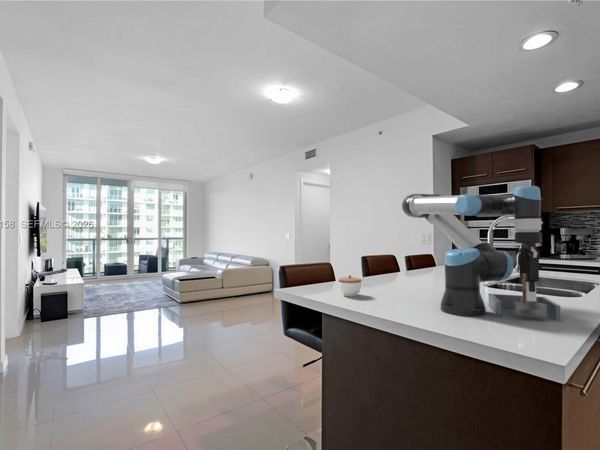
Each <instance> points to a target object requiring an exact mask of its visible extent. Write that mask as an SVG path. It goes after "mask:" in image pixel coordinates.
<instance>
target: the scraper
mask: <svg viewBox="0 0 600 450" xmlns="http://www.w3.org/2000/svg"><path fill="white" fill-rule="evenodd" d="M521 279H522V281H521V283H522V284H523V294H522V296H523V302H514V301H513V308H512V313H513V314H514V315H515V316H525V317H526V316H527V317H541V318H548V314H547V305H546V304H544V303H536V302H535V301H526V282H525V281H524V280H527V273H522V278H521Z"/></svg>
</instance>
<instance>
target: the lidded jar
mask: <svg viewBox="0 0 600 450" xmlns="http://www.w3.org/2000/svg"><path fill="white" fill-rule="evenodd" d="M338 286H339V287H338V288H339V291H340V292H341V293H342V294H343V296H345V297H350V298H351V297H357V296H358V294H359V293H360V292H361V289H362V278H360V277H354V276H353V277H352V275H351V274H349V275H348V276H345V277H343V276H342V277H339V278H338Z"/></svg>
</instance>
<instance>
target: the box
mask: <svg viewBox="0 0 600 450" xmlns="http://www.w3.org/2000/svg"><path fill="white" fill-rule="evenodd" d="M522 296H523V295H518V294H499V293H488V307H489V308H490V309H491V310H492V311H493V312H494V314H495V316H497V317H502V309H504V308H505V309H513V301H514V302H521V297H522ZM536 303H544V304H546V305H547V316H549V317H551V318H552V319H553V320H554V321H556V322H557V321H559V322H560V321H561V320H562V319H561V314H562V313H561V311H562V309H561V305H560V304H557V303H556V302H554V301H552V300H550V299H549V298H547V297H545V296H537V295H536Z"/></svg>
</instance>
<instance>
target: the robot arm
mask: <svg viewBox="0 0 600 450" xmlns="http://www.w3.org/2000/svg"><path fill="white" fill-rule="evenodd" d="M401 203H402V204H401V208H402V212H404V214H405V215H406V216H408V217H410V218H415V219H416V218H417V219H419V218H423V219H426V220H427V222H428V223H429V224H431V225H433V226H435V225H436V227H437V228H438V229H439V230H440V231H442V233H443V234H444V235H445V236H446V238H448V240H449V241H451V243H453V244H454V246H455V247H456V248H455V249H449V250H448V251H446V253H445V254H444V256H445V257H444V278H445V279H444V285H445V287H444V288H445V289H444V292H443V294H442V295H443V296H442V298H441V300H440V310H441V312H442V311H443V312H444V313H448V314H451V315H456V316H462V317H463V316H467V317H479V316H484V315H486V314H487V311H486V310H487V308H486V304H485V302H484V299H483V297H482V293H481V284H480V283H485V282H501V281H505V280H507V279H509V278H510V277H511V276H512V274H513V272H514V261H513V258H512V255H510V254H509V253H508V252H507V251H503V250H497V249H496V248H495V247H494V246H492V245H491V243H489V242H485V241H484V242H482V240H480V238H478V237H477V236H476V234H474V233H473V232H472V231H471V230H470V229H469V228H468V227H467V226H466V225H465V224H464V223H463V222H461V220H460V219H458V218H457V217H456V216H458V215H459V216H470V217H471V216H489V217H499V216H501V217H502V216H503V217H504V216H513V217H514V220H513V223H514V226H513V227H514V229H513V230H514V231H515V233H514V242H515V243H516V244H520V248H519V249H517V252H518V262H519V263H518V268H519V277H521V279H522V273H527V280H524V281H525V282H526V301H535V302H536V296H537V282H539V281H540V276H539V275H540V254H541V253H540V251H538V249H537V246H536V244H540V243H542V242H543V241H542V239H543V238H542V237H543V236H542V234H543V233H542V232H541V231H542V225H543V224H544V222H543V221H542V215H541V214H542V213H541V212H542V197H541V189H540V187H539V186H536V185H526V186H525V185H524V186H518V187H514V189H513V193H512V194H503V195H490V194H489V195H488V194H487V195H486V194H473V193H469V194H468V193H467V194H460V195H443V194H438V193H412V194H409V195H407V196H406V197H404V199H403V201H402V202H401ZM521 287H522V289H521V290H522V292H521V293H522V295H523V284H522V286H521Z"/></svg>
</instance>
